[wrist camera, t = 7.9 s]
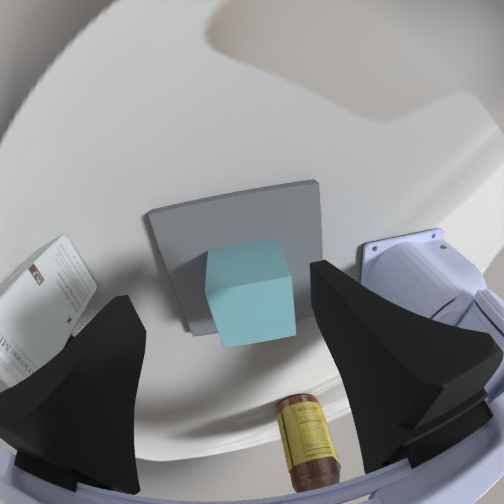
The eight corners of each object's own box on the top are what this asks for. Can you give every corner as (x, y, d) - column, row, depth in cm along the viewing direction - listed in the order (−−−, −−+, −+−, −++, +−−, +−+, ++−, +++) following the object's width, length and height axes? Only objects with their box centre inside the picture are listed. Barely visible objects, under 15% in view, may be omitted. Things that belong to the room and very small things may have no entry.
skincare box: (100, 286, 21) (48, 398, 11) (70, 299, 22) (19, 398, 11) (64, 228, 18) (-22, 325, 8) (35, 247, 19) (-39, 336, 8)
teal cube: (276, 237, 20) (291, 275, 15) (282, 291, 22) (296, 335, 18) (208, 250, 20) (204, 291, 15) (222, 302, 22) (223, 348, 18)
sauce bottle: (299, 414, 36) (326, 527, 18) (266, 409, 34) (287, 536, 16) (328, 393, 33) (366, 516, 16) (294, 387, 31) (328, 529, 14)
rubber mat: (314, 179, 19) (318, 182, 18) (319, 306, 25) (322, 313, 24) (151, 210, 19) (148, 214, 18) (193, 329, 25) (193, 336, 24)
